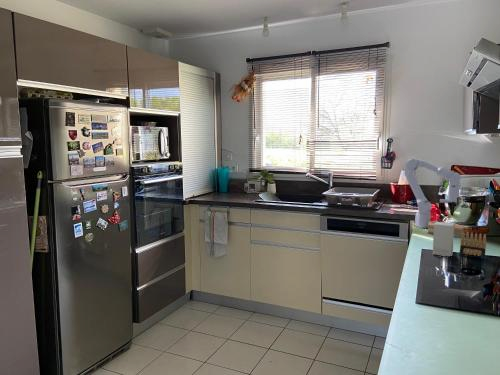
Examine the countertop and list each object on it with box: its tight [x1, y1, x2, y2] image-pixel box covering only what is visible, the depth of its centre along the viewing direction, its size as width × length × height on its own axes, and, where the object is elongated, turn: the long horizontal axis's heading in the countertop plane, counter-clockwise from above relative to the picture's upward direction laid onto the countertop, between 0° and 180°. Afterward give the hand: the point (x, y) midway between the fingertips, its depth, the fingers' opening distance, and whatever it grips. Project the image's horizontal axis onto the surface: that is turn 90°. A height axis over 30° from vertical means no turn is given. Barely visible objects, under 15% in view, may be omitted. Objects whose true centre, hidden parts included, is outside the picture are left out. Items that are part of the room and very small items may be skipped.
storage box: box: [427, 227, 464, 238], centre depth 234 cm, size 12×18×4 cm, turn 65°
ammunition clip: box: [459, 230, 487, 258], centre depth 187 cm, size 11×2×12 cm, turn 58°
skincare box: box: [432, 221, 455, 256], centre depth 189 cm, size 8×7×16 cm
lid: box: [428, 220, 464, 231], centre depth 234 cm, size 13×18×1 cm
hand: (452, 215), depth 240 cm, fingers closed
